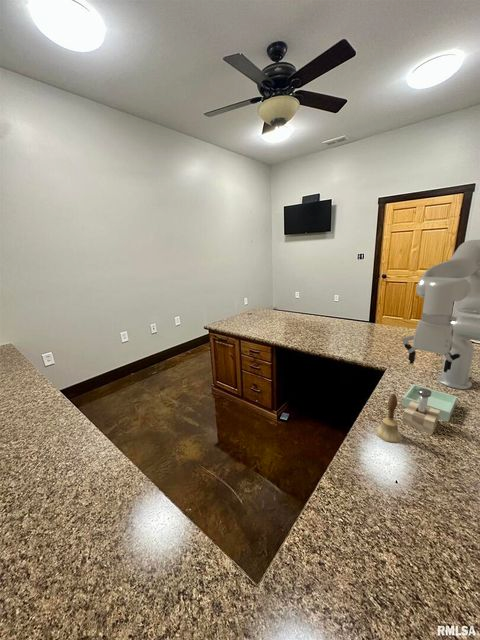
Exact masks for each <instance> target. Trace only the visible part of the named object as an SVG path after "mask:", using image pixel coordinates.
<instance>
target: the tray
mask: <svg viewBox="0 0 480 640" xmlns="http://www.w3.org/2000/svg"><path fill="white" fill-rule="evenodd" d="M420 388H425V389H428V390H430V391H431V392H432V393H431V396H430V397H428V402H427V406H428V407H431V408H434V409H437V410H440V414H439V420H440V421H444V422H447V423H449V421H450V419H451V417H452V415H453V413H454V410H455V408H456V406H457V405H456V404H457V402H458V396H456V395H453V394H448V393H446V392H442V391H438V390H435V389H432V388H428V387H425V386H421V385H417V384H414V383H412V385H411V387H409V389H408V390H407V392H405V394H404V395H403V397H402V403H401V406H402V407H404V408H407V406H408V405H409V404H410V402H411V401H413V402H416V403H419V399H420V395H419V394H418V389H420Z"/></svg>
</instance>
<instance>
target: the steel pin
mask: <svg viewBox="0 0 480 640" xmlns="http://www.w3.org/2000/svg"><path fill="white" fill-rule="evenodd" d="M425 388H426V387H425ZM425 388H420V389H418V394H419V395H420V399H419V406H418V412H419V413H422V414H424V415H426V408H427V402H428V397H430V396H431V393H432V392H431V391H430V390H428V389H425Z"/></svg>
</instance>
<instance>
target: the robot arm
mask: <svg viewBox="0 0 480 640" xmlns="http://www.w3.org/2000/svg"><path fill="white" fill-rule="evenodd" d="M415 290H416V294H417V295H418V296H419V297H420V298H423V305H422V312H421V319H420V320H418V322H417V325H416V327H415V328H416V329H415V332H414V335H411V336H407V337H403V338H402V339H401V341H402V343H403V346H404V347H405V349H406V350H407V352H408V353H409V354H408V361H409V364H410V365H413V364H414V362H415V361H416V360H415V359H416V353H417V352H416V350H419V351H423V352H424V351H425V352H427V353H428V352H429V353H433V354H438V355H443V356H444V359H443V363H442V371H441V373H440V374H437V376H436V381H438V383H440V384H441V385H443V386H447V387H449V388H451V389H456V390H457V389H458V390H468V389H471V388H472V385H473V383H472V382H471V381H470V380H469V379H470V378H469V377H470V373H471V366H472V363H473V356H474V354H475V353H474V352H475V348H474V345H473V344H472V342H471V341H476V342H480V317H474V316H466V315H456V316H453V315H452V314H453V307H454V302H455V308H456V311H457V312H459V313H463V314H469V315H478V316H480V239H471V240H467V241H464V242H462V243H461V244H460V245H459V246H458V247H457V249H456V250H455V251H454V253H453V254H452V256H451V257H450V259H448V260H446V261H443V262H440V263H438V264H435V265H433V266H431V267H429V268H427V270H426V271H424V273H423V275H422V276H421V277H420V278H419V280H418V282H417V285H416V289H415ZM410 341H412V345H411V344H410V343H409V342H410Z"/></svg>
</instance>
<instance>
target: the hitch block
mask: <svg viewBox="0 0 480 640" xmlns="http://www.w3.org/2000/svg"><path fill="white" fill-rule="evenodd" d="M418 406H419V403H416V402H413V401H411V402H410V404H409V405H408V406H407V407H405V409H404V411H403V414H402V423H401V424H403V425H405V426H409V427H410V428H414V429H416V430H419V431H421V432H424V433H426V434H428V435H433V434H434V431H435V429H436V427H437V426H438V423H439V420H440V419H439V414H440V410H437V409H434V408H431V407H428V406H427V408H426V415H424V414H422V413H419V412H418Z"/></svg>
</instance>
